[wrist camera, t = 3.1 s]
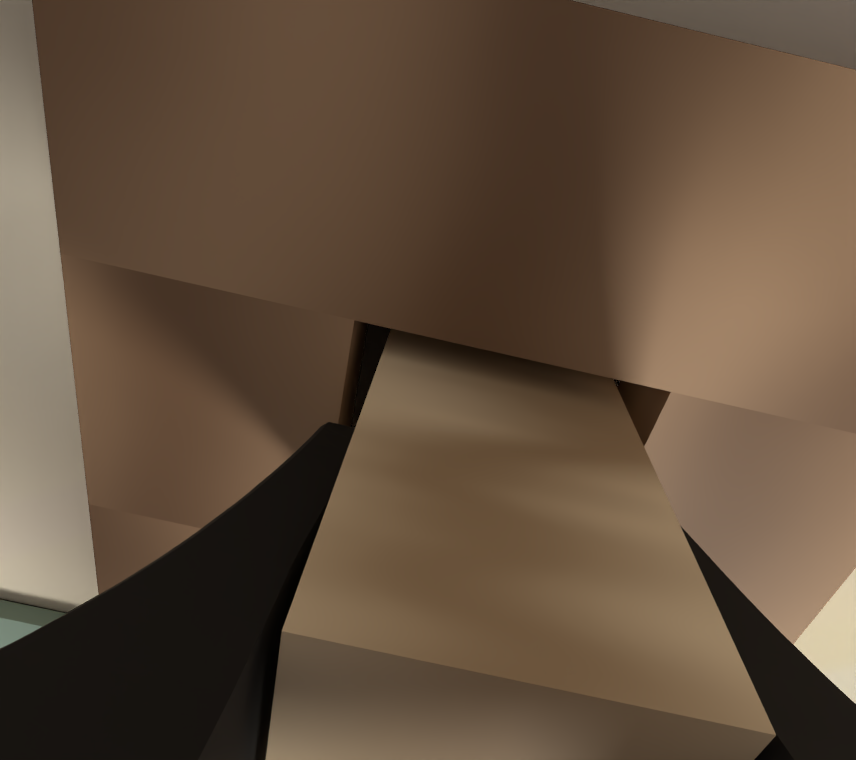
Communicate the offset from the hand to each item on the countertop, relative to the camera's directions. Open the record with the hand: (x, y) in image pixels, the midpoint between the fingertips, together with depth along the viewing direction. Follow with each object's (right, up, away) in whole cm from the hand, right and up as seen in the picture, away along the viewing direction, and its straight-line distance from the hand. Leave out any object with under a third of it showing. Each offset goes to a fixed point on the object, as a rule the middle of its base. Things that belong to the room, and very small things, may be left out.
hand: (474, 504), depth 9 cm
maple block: (0, +1, +2) cm, 3 cm away
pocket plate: (0, +1, +2) cm, 3 cm away
